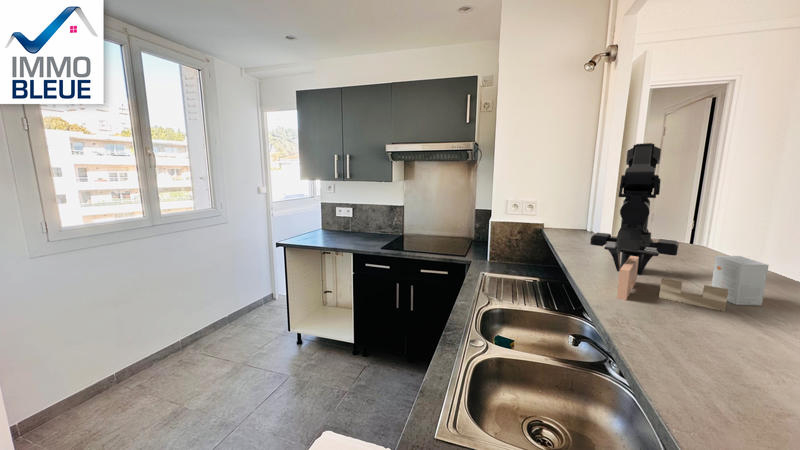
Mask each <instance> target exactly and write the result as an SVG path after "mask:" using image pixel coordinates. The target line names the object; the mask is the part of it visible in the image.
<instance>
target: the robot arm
mask: <svg viewBox="0 0 800 450" xmlns="http://www.w3.org/2000/svg"><path fill="white" fill-rule="evenodd" d="M626 152H627V153H626V160H625V163H626V166H628V167H627V168H626V169H625V171H624V174H622V175H621V177H620V184H619V189H618V190H619V191H618V198H624V199H623V204H622V206H621V208H620V210H619V215H620V217H621V220H620V221H621V222H620V228H619V230H618V233H617V235H616V237H613V236H612V234H611V233H605V232H596V233H595V234H593V235H592V236H591V237H590V241H589V242H590V245H591V246H598V247H603V248H604V250H605V251H608V252H609V253H610V255H611V257H612V259H613V262H614V265H615V269H616V272H618V273H620V269H621V267H622V266H623V265H624V263H625V262H626V261H627V260H628V258H629V257H630V256H636V257H639V261H638V270H637V275H639V276H642V274H643V273H644V271H645V268H646V267H647V264H648V263H649V261H650V260H651V259H652V258H653V257H658V256H659V255H667V256H677V255H678V252H679V245H680V243H679V242H678V241H677V240H671V239H662V238H661V239H660V238H659V240H658V241H654V240H653V239H652V232H649V229H648V226H649V225H648V223H649V216H650V212H651V211H650V208H651V200H650V199H657V195H660V190H661V178H660V176H659V175H658V174H655V173H656V170H657V169H656V168H657V165H660V162H661V161H660V160H661V153H662V149H661V148H660V147H658V146H656V145H655V143H653V142H646V143H636V144H634V145H633V147H632V148H630V149H628V150H627V151H626Z"/></svg>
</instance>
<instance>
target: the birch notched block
mask: <svg viewBox="0 0 800 450" xmlns="http://www.w3.org/2000/svg"><path fill="white" fill-rule="evenodd" d="M660 280H661V281H660V287H659V295H658V299H664V300H667V299H668V300H669V301H673V302H677V301H678V303H682V302H683V304H687V305H691V306H695V307H696V306H698V307H701V308H707V309H711V310H716V309H717V310H716V311H720V310H722V311H721V312H726V307H727V302H728V301H727V296H728V289H725V288H719V287H714V286H712V285H707V284H704V285H703V291H702V294H699V293H692V292H688V291H683V290H682V286H683V280H678V279H674V278H673V279H672V278H665V277H661V279H660ZM668 300H667V301H668Z"/></svg>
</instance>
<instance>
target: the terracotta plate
mask: <svg viewBox="0 0 800 450" xmlns="http://www.w3.org/2000/svg"><path fill="white" fill-rule="evenodd" d="M638 261H639V257H636V256H630V257H629V258H628V260H627V261H626V262H625V263H624V265H623V266H622V267H621V269H620V271H619V272H618V274H619V276H618V282H617V283H618V284H617V294H616V299H618V300H624V301H626V300H628V298H629V296H630V294H631V290H633V289H634V287H635V285H636V284H637V278H638V277H637V276H638V274H637V270H638Z"/></svg>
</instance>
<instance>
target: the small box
mask: <svg viewBox="0 0 800 450" xmlns="http://www.w3.org/2000/svg"><path fill="white" fill-rule="evenodd" d="M714 259H715V260H714V264H713V265H714V266H713V272H712V273H713V274H712V279H711V286H714V287H719V288H725V289H728V296H727V302H729V303H731V304H733V305H737V306H745V305H746V306H762V305H763V301H764V294H765V288H766V283H767V276H768V271H769V266H770V265H769V264H767V263H764V262H760V261H757V260H754V259H750V258H749V257H744V256H743V255H742V256H741V255H715V258H714Z"/></svg>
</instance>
